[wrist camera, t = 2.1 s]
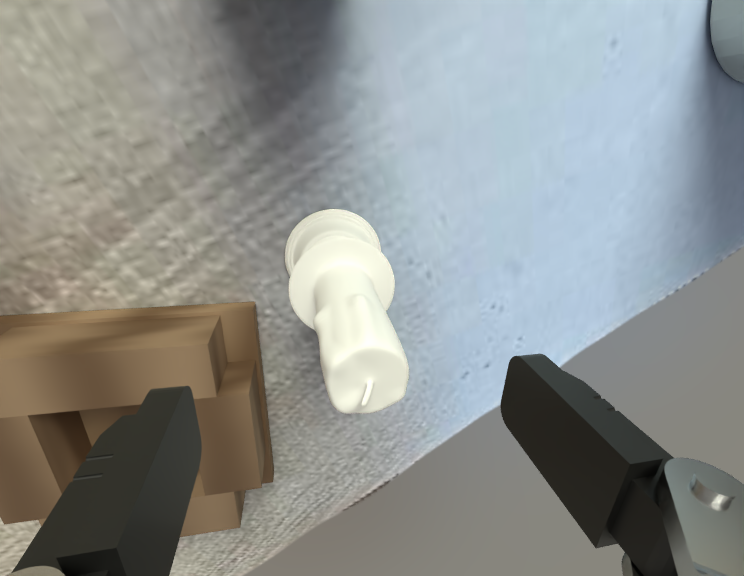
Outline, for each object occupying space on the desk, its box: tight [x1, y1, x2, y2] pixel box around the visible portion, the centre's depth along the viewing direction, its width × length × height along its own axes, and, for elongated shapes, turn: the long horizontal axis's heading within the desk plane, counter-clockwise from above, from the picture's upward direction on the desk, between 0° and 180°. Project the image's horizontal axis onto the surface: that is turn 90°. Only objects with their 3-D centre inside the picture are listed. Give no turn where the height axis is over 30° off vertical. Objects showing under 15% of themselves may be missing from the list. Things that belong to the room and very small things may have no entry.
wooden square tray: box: [0, 302, 274, 537], centre depth 20 cm, size 13×13×4 cm
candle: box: [285, 209, 409, 414], centre depth 15 cm, size 5×5×12 cm
